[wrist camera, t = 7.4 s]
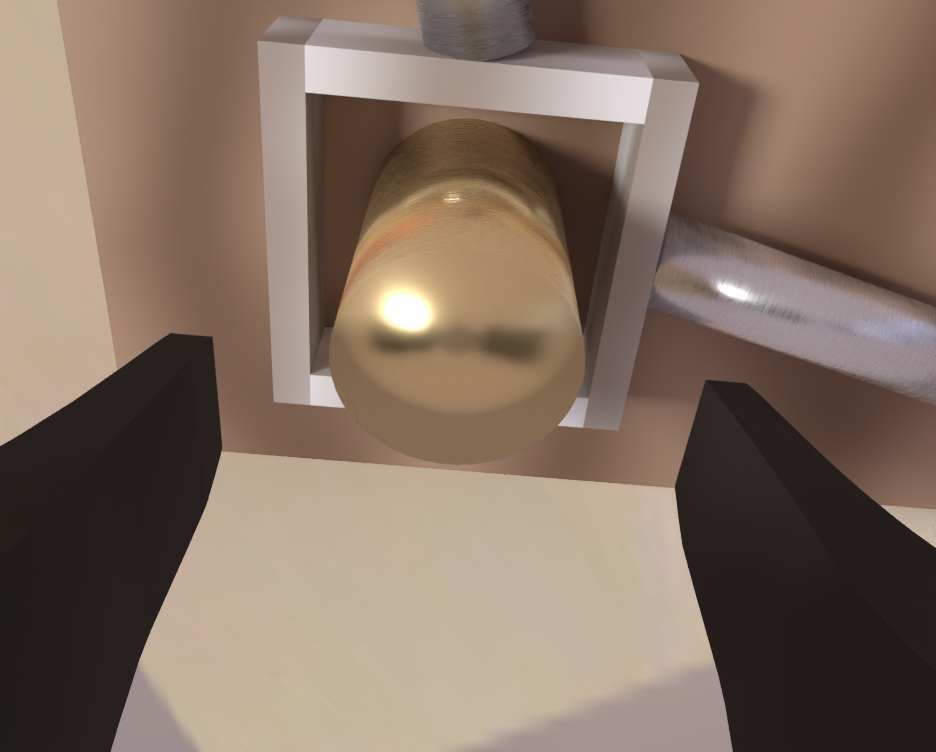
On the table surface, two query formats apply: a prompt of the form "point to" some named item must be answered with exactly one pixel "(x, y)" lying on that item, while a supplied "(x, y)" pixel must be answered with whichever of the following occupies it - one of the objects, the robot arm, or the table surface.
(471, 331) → the brass cylinder
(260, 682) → the table surface
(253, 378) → the plate
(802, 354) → the shaft
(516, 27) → the shaft
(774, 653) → the robot arm
